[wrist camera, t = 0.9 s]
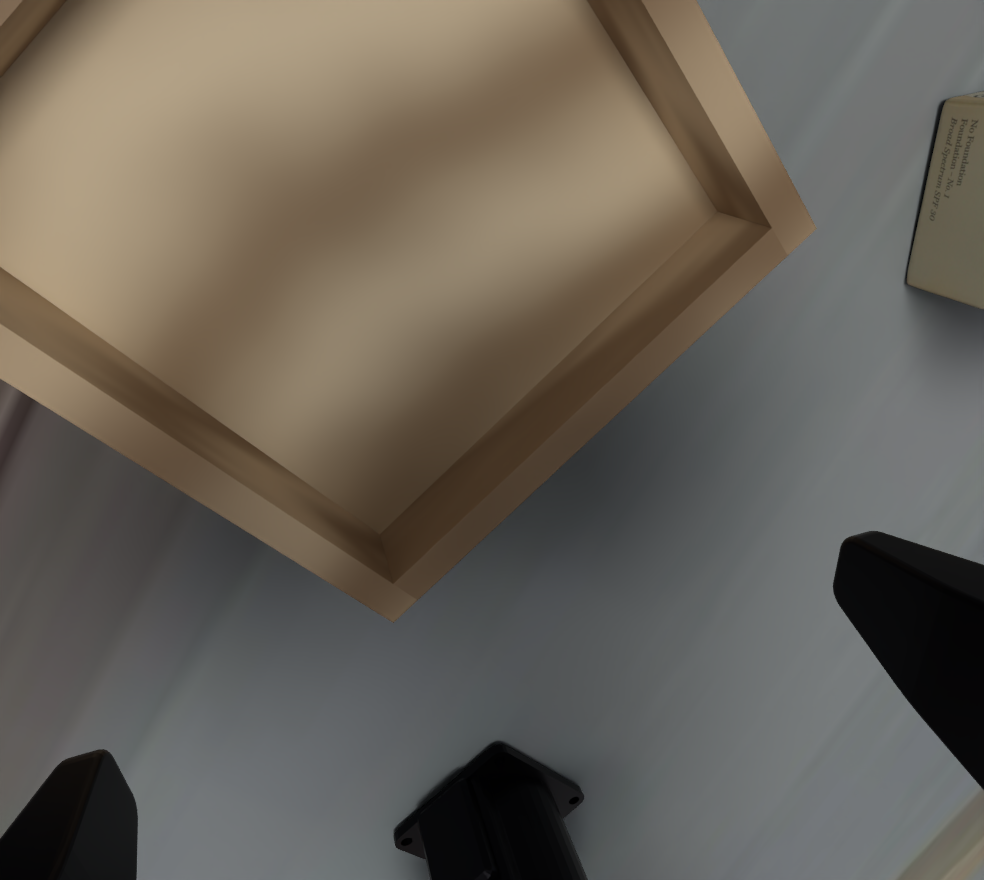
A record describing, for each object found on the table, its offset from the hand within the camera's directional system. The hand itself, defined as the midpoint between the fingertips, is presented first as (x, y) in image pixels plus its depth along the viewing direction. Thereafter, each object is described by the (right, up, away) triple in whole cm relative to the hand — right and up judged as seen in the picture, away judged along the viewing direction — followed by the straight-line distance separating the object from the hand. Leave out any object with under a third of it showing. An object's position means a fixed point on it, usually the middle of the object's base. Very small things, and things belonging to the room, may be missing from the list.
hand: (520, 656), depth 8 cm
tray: (-4, +9, +10) cm, 14 cm away
